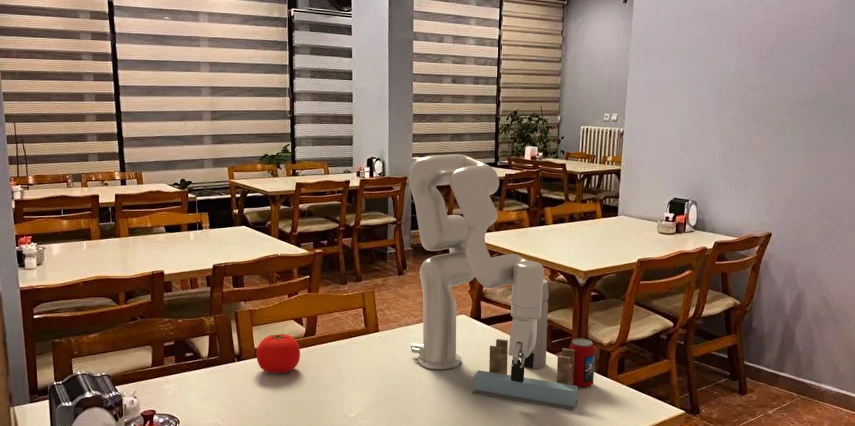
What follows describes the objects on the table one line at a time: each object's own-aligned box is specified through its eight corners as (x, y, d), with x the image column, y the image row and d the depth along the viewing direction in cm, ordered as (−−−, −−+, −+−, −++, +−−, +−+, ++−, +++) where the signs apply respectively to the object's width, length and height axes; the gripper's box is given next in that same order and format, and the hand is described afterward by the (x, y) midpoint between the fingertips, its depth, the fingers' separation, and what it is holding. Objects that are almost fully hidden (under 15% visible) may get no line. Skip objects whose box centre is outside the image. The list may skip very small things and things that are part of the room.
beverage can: (593, 390, 181) (595, 347, 179) (567, 388, 182) (569, 345, 180) (592, 380, 187) (594, 338, 185) (567, 378, 189) (569, 336, 187)
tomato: (297, 361, 200) (296, 326, 199) (303, 376, 189) (302, 339, 188) (255, 365, 197) (254, 330, 195) (258, 381, 186) (257, 344, 184)
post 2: (554, 397, 176) (555, 356, 175) (559, 387, 183) (561, 347, 181) (569, 400, 175) (571, 359, 173) (574, 389, 181) (576, 349, 180)
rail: (474, 389, 180) (474, 375, 179) (478, 384, 183) (478, 370, 182) (573, 406, 170) (574, 391, 169) (576, 401, 173) (577, 385, 172)
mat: (472, 393, 179) (472, 391, 179) (479, 385, 184) (479, 383, 184) (573, 410, 169) (573, 408, 169) (577, 401, 174) (577, 399, 174)
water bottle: (552, 366, 197) (555, 281, 193) (532, 372, 193) (534, 285, 189) (530, 356, 205) (532, 274, 201) (510, 361, 200) (512, 278, 196)
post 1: (486, 386, 183) (487, 346, 181) (494, 376, 190) (495, 338, 188) (501, 388, 182) (502, 348, 180) (508, 378, 188) (509, 340, 187)
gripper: (520, 298, 182) (516, 359, 185) (501, 318, 166) (498, 384, 170) (548, 302, 179) (544, 364, 183) (532, 323, 164) (527, 390, 167)
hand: (522, 373), depth 176 cm, fingers open, 9 cm apart
